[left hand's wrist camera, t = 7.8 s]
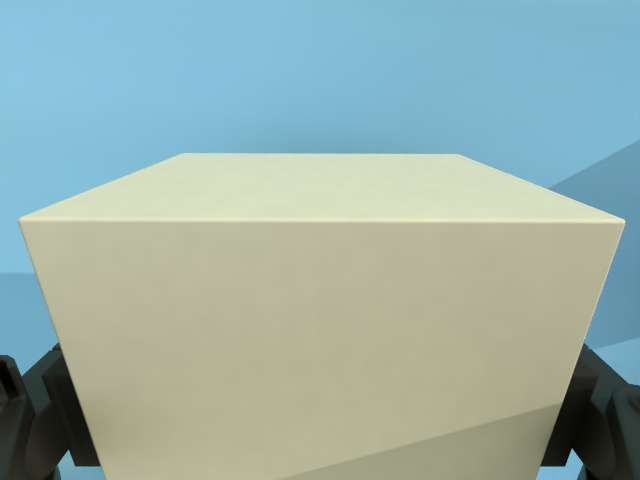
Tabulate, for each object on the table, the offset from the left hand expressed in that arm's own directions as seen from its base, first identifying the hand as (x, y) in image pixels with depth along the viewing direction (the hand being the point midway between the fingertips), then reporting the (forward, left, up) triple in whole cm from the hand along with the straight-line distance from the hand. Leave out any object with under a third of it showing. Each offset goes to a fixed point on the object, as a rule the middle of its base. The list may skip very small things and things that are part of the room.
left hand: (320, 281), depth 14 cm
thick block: (+28, 0, -1) cm, 28 cm away
